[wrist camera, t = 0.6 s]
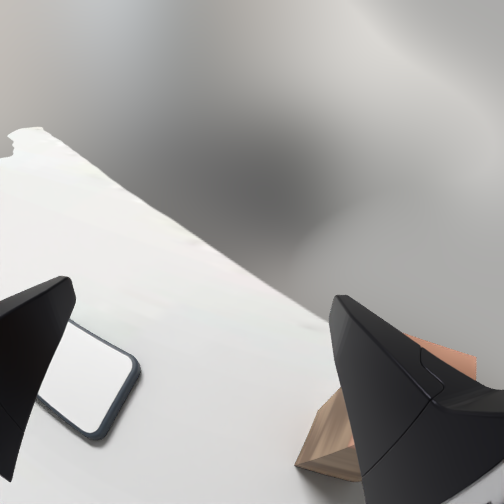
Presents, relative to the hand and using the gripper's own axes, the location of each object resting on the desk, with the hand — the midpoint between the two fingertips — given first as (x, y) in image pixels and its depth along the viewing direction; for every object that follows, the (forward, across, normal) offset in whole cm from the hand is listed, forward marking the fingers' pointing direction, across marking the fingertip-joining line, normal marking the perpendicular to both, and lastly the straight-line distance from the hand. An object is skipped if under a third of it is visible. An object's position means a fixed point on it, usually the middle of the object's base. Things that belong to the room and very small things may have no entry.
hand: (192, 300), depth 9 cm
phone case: (+7, +15, +14) cm, 22 cm away
